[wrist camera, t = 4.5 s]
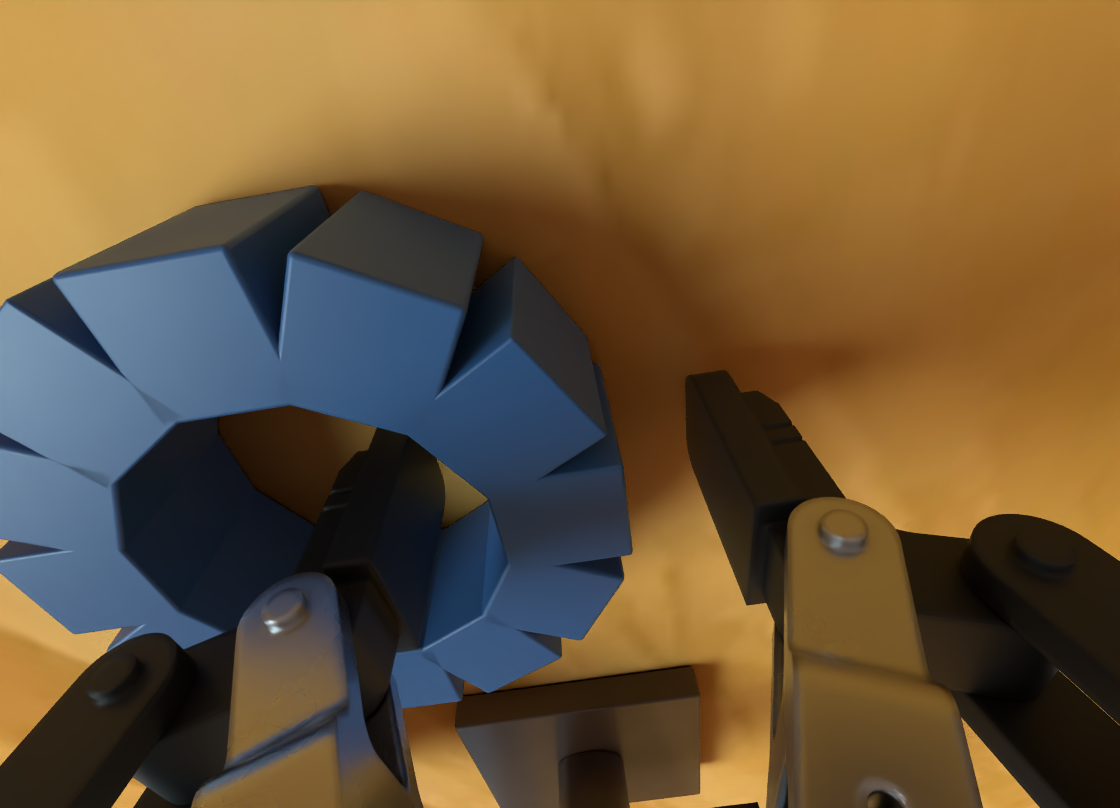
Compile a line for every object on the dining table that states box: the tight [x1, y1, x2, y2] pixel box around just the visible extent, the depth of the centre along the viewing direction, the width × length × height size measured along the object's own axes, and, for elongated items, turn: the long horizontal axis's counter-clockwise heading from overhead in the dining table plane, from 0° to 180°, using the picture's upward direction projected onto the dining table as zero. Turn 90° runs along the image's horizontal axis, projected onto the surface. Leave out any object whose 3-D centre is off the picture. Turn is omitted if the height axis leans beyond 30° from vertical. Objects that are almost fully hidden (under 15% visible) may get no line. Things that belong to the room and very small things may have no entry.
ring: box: [0, 186, 633, 709], centre depth 10 cm, size 10×10×3 cm
